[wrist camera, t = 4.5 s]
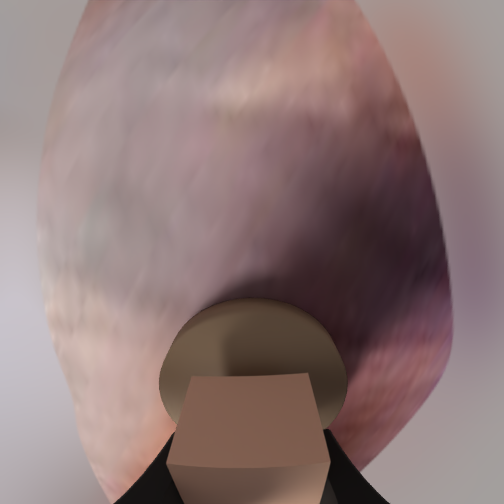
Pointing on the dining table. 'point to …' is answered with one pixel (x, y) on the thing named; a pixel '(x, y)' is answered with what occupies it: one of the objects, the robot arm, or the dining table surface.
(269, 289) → the dining table surface
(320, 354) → the olive round dish
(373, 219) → the dining table surface
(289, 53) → the dining table surface
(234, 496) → the tan block
